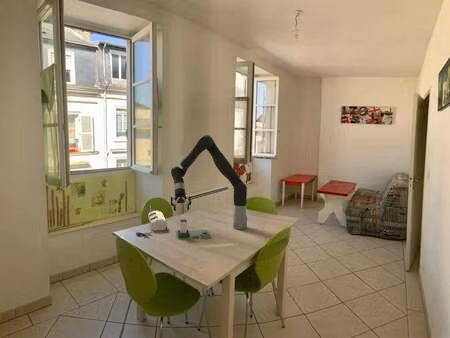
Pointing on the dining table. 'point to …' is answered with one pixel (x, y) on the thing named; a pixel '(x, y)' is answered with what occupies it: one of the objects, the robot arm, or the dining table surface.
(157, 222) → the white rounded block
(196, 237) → the board
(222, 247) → the dining table surface
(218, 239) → the dining table surface
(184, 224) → the plug
